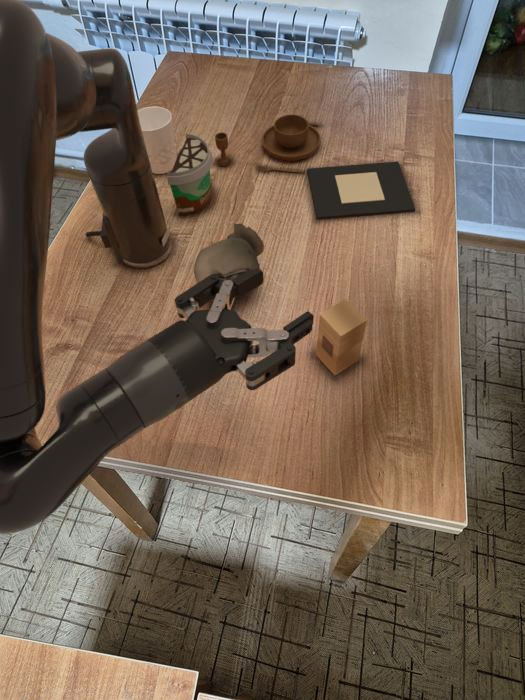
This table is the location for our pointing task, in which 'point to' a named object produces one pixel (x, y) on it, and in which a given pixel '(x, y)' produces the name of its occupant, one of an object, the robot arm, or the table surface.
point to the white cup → (158, 138)
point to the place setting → (281, 141)
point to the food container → (191, 176)
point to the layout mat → (359, 190)
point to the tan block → (340, 336)
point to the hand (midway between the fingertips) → (285, 295)
